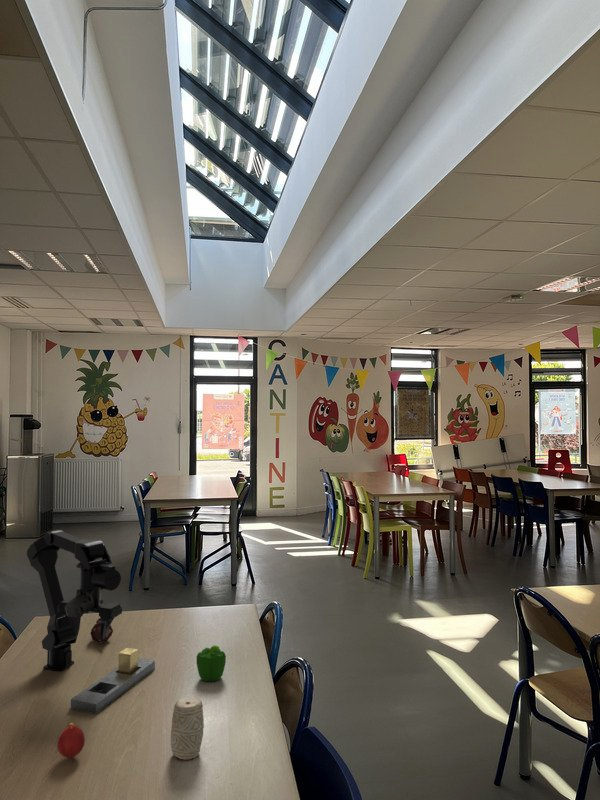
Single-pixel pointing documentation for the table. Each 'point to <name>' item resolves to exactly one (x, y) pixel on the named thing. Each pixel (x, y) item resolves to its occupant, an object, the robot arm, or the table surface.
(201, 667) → the bell pepper
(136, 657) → the brass peg
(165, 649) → the table surface
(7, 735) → the table surface
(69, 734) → the onion
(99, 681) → the rail
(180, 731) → the carving
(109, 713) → the table surface
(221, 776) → the table surface
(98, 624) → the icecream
